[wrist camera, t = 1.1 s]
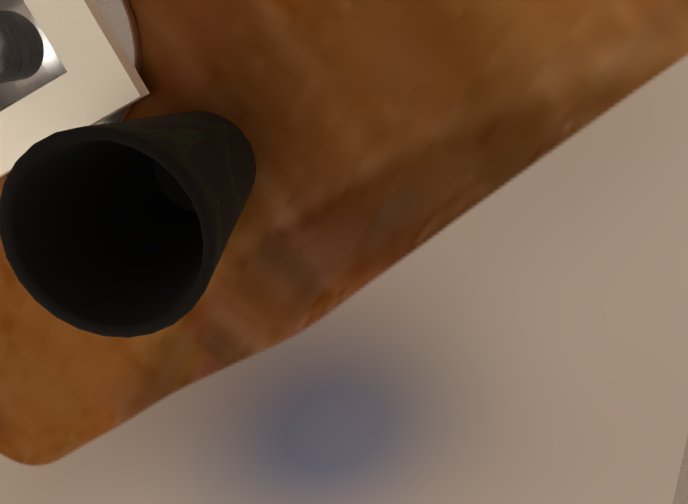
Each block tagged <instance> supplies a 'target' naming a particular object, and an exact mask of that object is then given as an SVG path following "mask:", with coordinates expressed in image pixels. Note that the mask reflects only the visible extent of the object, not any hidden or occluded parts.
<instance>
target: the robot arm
mask: <svg viewBox="0 0 688 504" xmlns="http://www.w3.org/2000/svg"><path fill="white" fill-rule="evenodd" d="M673 504H688V437H687V441H686V446H685V451H684V455H683V459H682V464H681V468H680V473H679V478H678V482H677V487H676V491H675V496H674V500H673Z"/></svg>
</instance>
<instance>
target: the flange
mask: <svg viewBox="0 0 688 504" xmlns="http://www.w3.org/2000/svg"><path fill="white" fill-rule="evenodd" d="M23 1H24V3H25V4H26V6H27V7H28V9H29V11H30V12H31V14H32V15H33V17H34V19H35V20H36V22H37V24H38V25H39V27H40V28H41V30H42V32H43V33H44V35H45V37H46V38H47V40H48V41H49V43H50V45H51V46H52V48H53V49H54V51H55V53H56V54H57V56H58V58H59V59H60V61H61V62H62V64H63V66H64V67H65V69H66V71H67V72H66V73H65V74H63V75H61V76H60V77H58V78H56V79H55V80H53V81H51V82H49V83H48V84H46V85H44V86H43V87H41V88H39V89H38V90H36V91H34V92H33V93H31V94H29V95H28V96H26V97H24V98H22V99H21V100H19V101H17V102H16V103H14V104H12V105H11V106H9V107H7V108H6V109H4V110H2V111H1V112H0V178H1V177H3V176H5V175H6V174H8V173H10V171H11V169H12V167H13V166H14V164H15V162H16V161H17V160H18V159H19V158H20V157H21V156H22V155H23V154H24V153H25V152H26V151H27V150H28V149H29V148H30V147H31V146H32V145H33V144H35V143H37V142H38V141H40V140H42V139H44V138H46V137H48V136H50V135H52V134H53V133H55V132H59V131H64V130H68V129H73V128H78V127H83V126H90V125H95V124H97V123H99V122H100V121H102V120H104V119H106V118H107V117H109V116H111V115H113V114H115V113H116V112H118V111H120V110H122V109H123V108H125V107H127V106H129V105H131V104H132V103H134V102H136V101H138V100H139V99H141V98H143V97H145V96H147V95H148V94H150V93H149V91H148V89H147V88H146V86H145V84H144V83H143V81H142V79H141V77H140V76H139V74H138V72H137V71H136V69H135V67H134V65H133V64H132V62H131V60H130V59H129V57H128V55H127V54H126V52H125V50H124V48H123V47H122V45H121V43H120V42H119V40H118V38H117V36H116V35H115V33H114V31H113V30H112V28H111V26H110V25H109V23H108V21H107V19H106V18H105V16H104V14H103V13H102V11H101V9H100V8H99V6H98V4H97V2H96V1H95V0H23Z"/></svg>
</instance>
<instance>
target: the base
mask: <svg viewBox="0 0 688 504" xmlns="http://www.w3.org/2000/svg"><path fill="white" fill-rule="evenodd" d="M95 1H96V2H97V4H98V6H99V8H100V9H101V11H102V13H103V14H104V16H105V18H106V19H107V21H108V23H109V25H110V26H111V28H112V30H113V31H114V33H115V35H116V36H117V38H118V40H119V42H120V43H121V45H122V47H123V48H124V50H125V52H126V54H127V55H128V57H129V59H130V60H131V62H132V64H133V65H134V67H135V69H136V71H137V72H138V74H139V76H140V71H141V48H140V39H139V33H138V29H137V25H136V20H135V17H134V14H133V11H132V9H131V6H130V3H129V1H128V0H95ZM66 72H67V71H66V69H65V67H64V66H63V64H62V62H61V61H60V59H59V58H58V56H57V54H56V53H55V51H54V49H53V48H52V46H51V45H50V43H49V41H48V40H47V38H46V37H45V35H44V33H43V32H42V30H41V28H40V27H39V25H38V24H37V22H36V20H35V19H34V17H33V15H32V14H31V12H30V11H29V9H28V7H27V6H26V4H25V3H24V1H23V0H0V112H1V111H2V110H4V109H6V108H7V107H9V106H11V105H12V104H14V103H16V102H17V101H19V100H21V99H22V98H24V97H26V96H28V95H29V94H31V93H33V92H34V91H36V90H38V89H39V88H41V87H43V86H44V85H46V84H48V83H49V82H51V81H53V80H55V79H56V78H58V77H60V76H61V75H63V74H65V73H66ZM132 104H133V103H132ZM132 104H131V105H129V106H127V107H125V108H123V109H122V110H120V111H118V112H116V113H115V114H113V115H111V116H109V117H107V118H106V119H104V120H102V121H100V122H99V123H97V124H95V125H98V124H105V123H113V122H120V121H124V120H125V118H126V117H127V115H128V113H129V111H130V109H131V107H132Z"/></svg>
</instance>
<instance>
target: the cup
mask: <svg viewBox="0 0 688 504" xmlns="http://www.w3.org/2000/svg"><path fill="white" fill-rule="evenodd" d="M255 172H256V165H255V158H254V154H253V151H252V149H251V146H250V143H249V142H248V140H247V139H246V137H245V136H244V134H243V133H242V132H241V131H240V130H239V129H238V128H237V127H236V126H235V125H234V124H233V123H232V122H230V121H228V120H226V119H225V118H223V117H221V116H219V115H215V114H212V113H208V112H187V113H180V114H172V115H165V116H157V117H150V118H142V119H135V120H128V121H120V122H113V123H105V124H98V125H90V126H83V127H78V128H73V129H68V130H64V131H59V132H55V133H53V134H52V135H50V136H48V137H46V138H44V139H42V140H40V141H38V142H37V143H35V144H33V145H32V146H31V147H30V148H29V149H28V150H27V151H26V152H25V153H24V154H23V155H22V156H21V157H20V158H19V159H18V160H17V161H16V162H15V164H14V166H13V167H12V169H11V171H10V173H9V175H8V177H7V178H6V180H5V182H4V185H3V189H2V194H1V198H0V236H1V240H2V244H3V247H4V251H5V254H6V258H7V259H8V261H9V263H10V265H11V267H12V269H13V271H14V273H15V274H16V276H17V278H18V280H19V281H20V282H21V284H22V285H23V286H24V287H25V288H26V290H27V291H28V292H29V293H30V294H31V296H32V297H33V298H34V299H35V300H36V301H37V302H38V303H39V304H40V305H42V306H43V307H44V308H45V309H47V310H48V311H49V312H50V313H52V314H53V315H54V316H55V317H57V318H59V319H61V320H63V321H65V322H67V323H68V324H70V325H72V326H74V327H76V328H78V329H81V330H84V331H88V332H91V333H95V334H98V335H102V336H111V337H126V338H129V337H135V336H141V335H147V334H152V333H155V332H157V331H159V330H162V329H164V328H166V327H169V326H171V325H173V324H175V323H176V322H177V321H178V320H180V319H181V318H182V317H183V316H185V315H186V314H187V313H188V312H190V311H191V310H192V309H193V307H194V306H195V304H196V303H197V302H198V300H199V299H200V297H201V296H202V295H203V293H204V292H205V290H206V288H207V286H208V284H209V281H210V279H211V277H212V275H213V273H214V270H215V268H216V266H217V264H218V262H219V260H220V257H221V255H222V253H223V251H224V249H225V246H226V244H227V242H228V240H229V238H230V236H231V233H232V231H233V229H234V227H235V225H236V222H237V220H238V218H239V216H240V214H241V212H242V209H243V207H244V205H245V203H246V201H247V198H248V196H249V194H250V192H251V189H252V186H253V184H254V181H255Z"/></svg>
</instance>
